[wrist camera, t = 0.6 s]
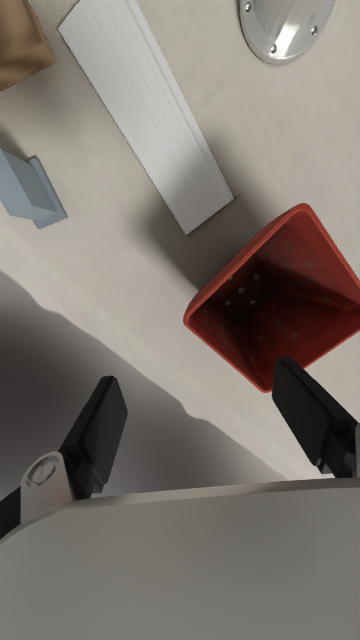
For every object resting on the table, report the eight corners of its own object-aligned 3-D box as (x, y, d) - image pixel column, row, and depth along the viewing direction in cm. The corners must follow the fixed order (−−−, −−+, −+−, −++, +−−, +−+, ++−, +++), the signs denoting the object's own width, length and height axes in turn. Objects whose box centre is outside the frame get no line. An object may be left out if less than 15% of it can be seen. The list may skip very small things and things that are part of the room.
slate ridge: (39, 159, 30) (1, 135, 24) (68, 217, 34) (42, 210, 27) (9, 173, 31) (-36, 153, 24) (40, 228, 34) (8, 224, 28)
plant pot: (178, 291, 39) (179, 321, 24) (247, 219, 34) (306, 196, 18) (234, 343, 44) (265, 396, 29) (302, 287, 39) (384, 315, 24)
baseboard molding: (127, -40, 23) (64, 40, 26) (120, -77, 20) (50, 16, 23) (239, 195, 33) (185, 236, 36) (245, 190, 30) (186, 235, 33)
